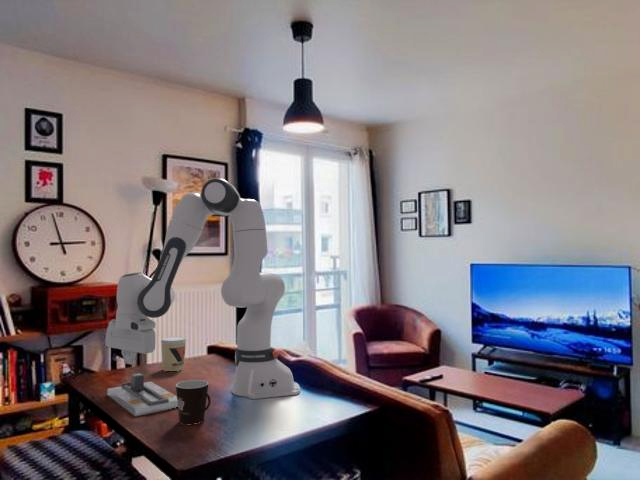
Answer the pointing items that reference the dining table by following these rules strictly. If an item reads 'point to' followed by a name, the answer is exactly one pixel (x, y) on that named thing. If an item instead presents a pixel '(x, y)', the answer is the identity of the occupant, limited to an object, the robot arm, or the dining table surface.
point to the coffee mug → (192, 400)
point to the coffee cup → (173, 353)
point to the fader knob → (137, 381)
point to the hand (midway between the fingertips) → (128, 363)
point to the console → (143, 398)
